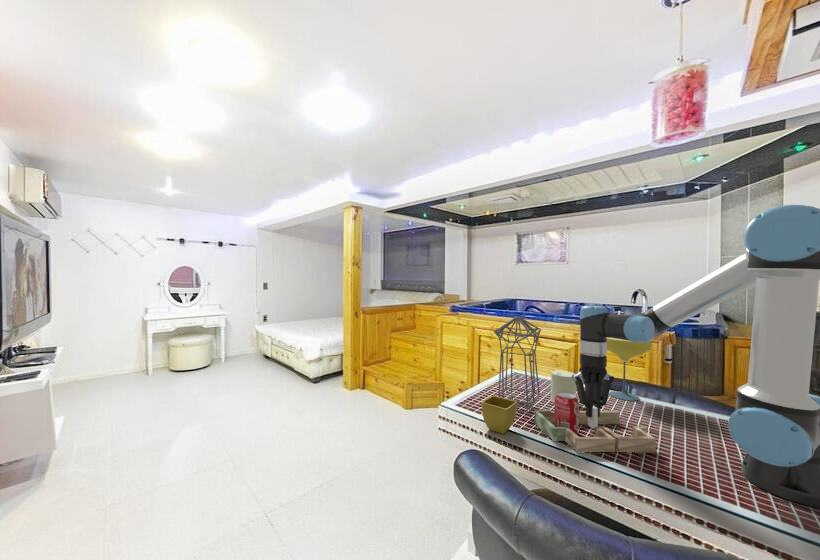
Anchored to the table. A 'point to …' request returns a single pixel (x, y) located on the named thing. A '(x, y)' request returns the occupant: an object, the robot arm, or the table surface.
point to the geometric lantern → (498, 332)
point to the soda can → (566, 411)
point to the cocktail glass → (625, 352)
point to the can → (562, 383)
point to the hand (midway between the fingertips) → (592, 426)
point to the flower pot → (499, 413)
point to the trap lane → (597, 434)
